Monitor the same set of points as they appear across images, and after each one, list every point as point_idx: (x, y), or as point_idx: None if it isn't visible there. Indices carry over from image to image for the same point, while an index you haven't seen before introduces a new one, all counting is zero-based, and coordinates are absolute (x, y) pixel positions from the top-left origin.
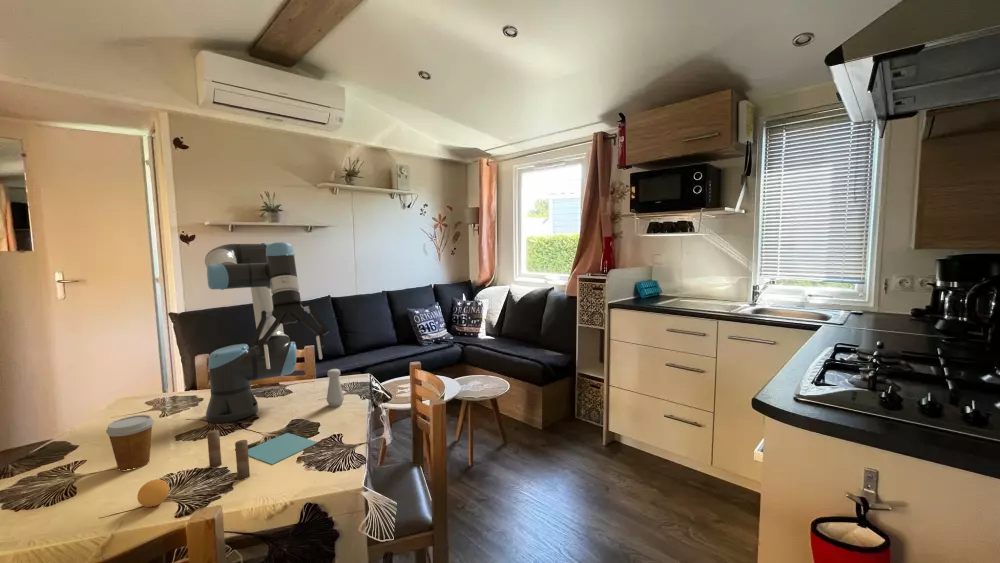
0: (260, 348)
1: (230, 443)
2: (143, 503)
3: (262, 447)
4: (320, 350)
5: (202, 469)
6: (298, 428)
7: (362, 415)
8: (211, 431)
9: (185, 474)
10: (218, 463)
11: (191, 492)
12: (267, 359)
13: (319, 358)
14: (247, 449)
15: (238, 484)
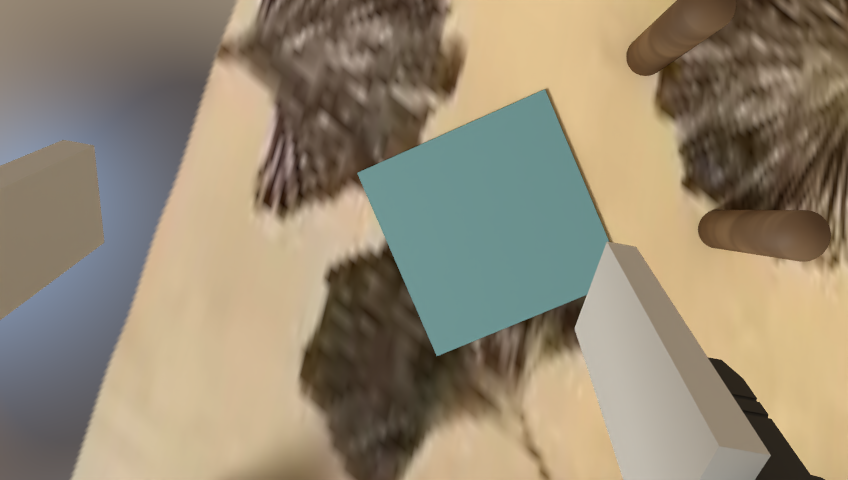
0: (787, 456)
1: None
2: None
3: (548, 270)
4: (7, 167)
5: None
6: (387, 378)
7: (125, 335)
8: (810, 249)
9: None
10: (714, 212)
11: (809, 56)
12: (645, 292)
13: (98, 197)
14: (670, 7)
15: None
